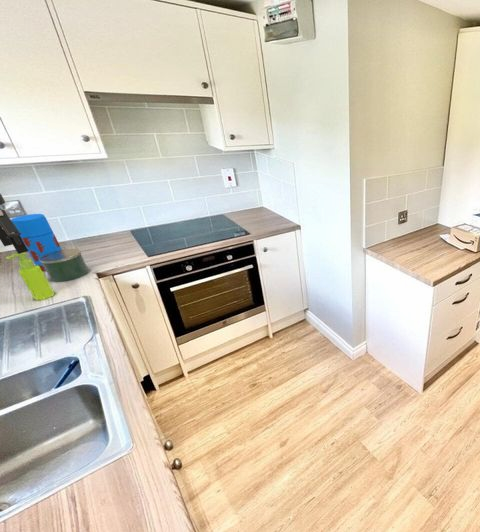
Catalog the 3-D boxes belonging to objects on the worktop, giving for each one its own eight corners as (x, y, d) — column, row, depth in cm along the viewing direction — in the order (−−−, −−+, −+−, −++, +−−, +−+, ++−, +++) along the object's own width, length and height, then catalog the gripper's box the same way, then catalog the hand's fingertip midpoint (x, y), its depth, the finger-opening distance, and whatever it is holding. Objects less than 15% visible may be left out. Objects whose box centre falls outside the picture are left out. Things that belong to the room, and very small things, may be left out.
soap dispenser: (28, 299, 132) (1, 255, 123) (49, 291, 138) (25, 249, 128) (36, 302, 130) (10, 258, 121) (57, 294, 136) (34, 251, 127)
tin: (58, 284, 142) (46, 264, 138) (44, 277, 148) (33, 257, 143) (95, 272, 153) (86, 252, 148) (81, 265, 159) (72, 246, 154)
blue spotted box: (56, 260, 163) (31, 213, 152) (74, 262, 162) (50, 214, 151) (31, 270, 154) (3, 220, 142) (50, 272, 152) (23, 222, 141)
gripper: (13, 196, 112) (43, 251, 122) (-13, 187, 122) (17, 239, 132) (-20, 202, 106) (15, 259, 116) (-44, 191, 116) (-10, 245, 126)
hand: (16, 248), depth 124 cm, fingers open, 13 cm apart
